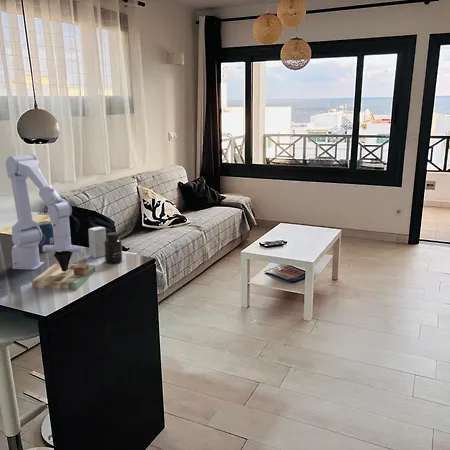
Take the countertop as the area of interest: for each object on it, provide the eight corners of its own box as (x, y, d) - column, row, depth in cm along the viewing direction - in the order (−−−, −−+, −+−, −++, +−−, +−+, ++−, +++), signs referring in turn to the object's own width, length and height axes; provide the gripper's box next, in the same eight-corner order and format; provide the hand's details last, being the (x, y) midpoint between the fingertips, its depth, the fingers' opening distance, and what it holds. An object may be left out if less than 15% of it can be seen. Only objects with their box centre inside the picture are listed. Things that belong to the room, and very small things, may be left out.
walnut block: (74, 275, 162) (73, 267, 161) (78, 271, 166) (77, 263, 165) (84, 275, 162) (84, 267, 161) (88, 271, 166) (88, 263, 165)
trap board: (32, 287, 157) (31, 281, 156) (55, 269, 174) (55, 263, 174) (76, 289, 156) (76, 282, 155) (95, 271, 173) (95, 265, 173)
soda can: (34, 250, 197) (31, 223, 194) (46, 245, 204) (44, 220, 200) (46, 252, 195) (44, 225, 192) (58, 247, 201) (55, 221, 198)
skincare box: (96, 258, 188) (94, 230, 185) (89, 256, 190) (87, 228, 187) (107, 254, 192) (106, 227, 189) (101, 252, 195) (99, 225, 192)
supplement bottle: (118, 265, 180) (116, 236, 177) (102, 263, 181) (100, 235, 178) (125, 259, 187) (123, 231, 183) (109, 258, 188) (108, 230, 185)
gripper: (37, 237, 157) (40, 273, 161) (77, 238, 156) (79, 275, 160) (46, 231, 164) (49, 266, 168) (84, 233, 163) (87, 268, 167)
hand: (65, 270), depth 164 cm, fingers closed
